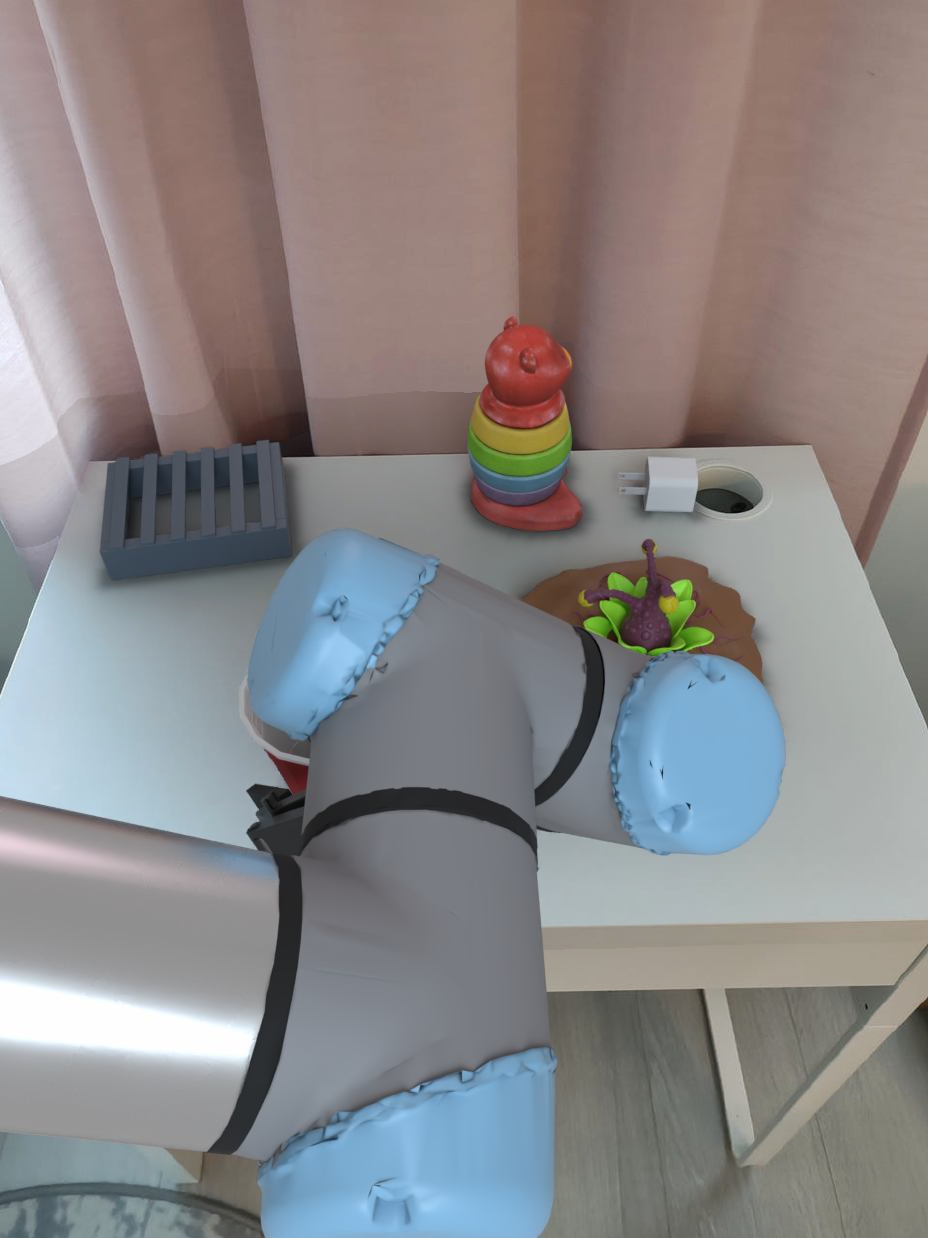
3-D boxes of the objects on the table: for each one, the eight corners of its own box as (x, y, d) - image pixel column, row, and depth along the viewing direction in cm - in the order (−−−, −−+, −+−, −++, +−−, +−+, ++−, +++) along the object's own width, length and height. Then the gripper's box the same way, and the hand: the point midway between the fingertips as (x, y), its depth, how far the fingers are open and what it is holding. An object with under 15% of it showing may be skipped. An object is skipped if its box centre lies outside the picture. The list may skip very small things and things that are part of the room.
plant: (543, 786, 74) (551, 695, 65) (496, 594, 86) (498, 497, 78) (802, 748, 75) (842, 655, 67) (719, 566, 88) (744, 468, 80)
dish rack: (111, 580, 88) (98, 548, 85) (118, 491, 96) (106, 459, 93) (292, 556, 90) (285, 523, 87) (284, 470, 98) (278, 438, 95)
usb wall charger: (691, 515, 92) (698, 482, 89) (616, 513, 93) (621, 480, 90) (688, 487, 95) (694, 454, 92) (615, 485, 95) (619, 452, 92)
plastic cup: (433, 827, 72) (426, 731, 63) (286, 875, 69) (257, 783, 60) (388, 711, 78) (376, 610, 69) (253, 752, 76) (222, 653, 67)
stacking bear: (586, 528, 92) (604, 363, 78) (478, 541, 91) (477, 376, 77) (561, 453, 99) (573, 290, 85) (460, 464, 98) (456, 302, 84)
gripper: (355, 984, 44) (222, 908, 63) (694, 667, 55) (497, 682, 74) (262, 850, 43) (154, 812, 61) (630, 553, 54) (445, 597, 72)
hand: (342, 741), depth 68 cm, fingers open, 13 cm apart
